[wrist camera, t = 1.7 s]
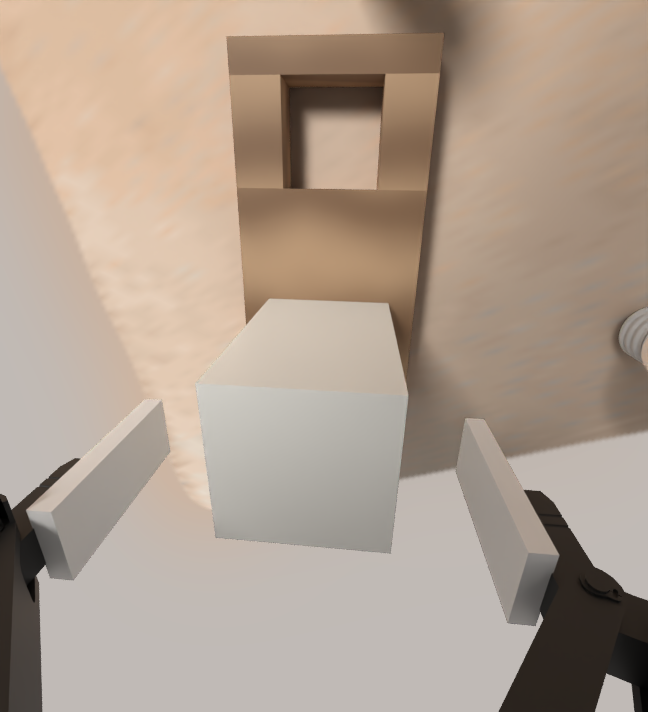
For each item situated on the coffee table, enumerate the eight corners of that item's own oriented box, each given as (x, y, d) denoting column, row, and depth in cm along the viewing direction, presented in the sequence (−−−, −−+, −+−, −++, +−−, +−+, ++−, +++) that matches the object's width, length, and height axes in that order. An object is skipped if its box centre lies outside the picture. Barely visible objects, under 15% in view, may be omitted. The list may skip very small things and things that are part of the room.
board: (241, 53, 20) (99, -106, 9) (434, 51, 20) (526, -126, 9) (260, 389, 28) (195, 515, 17) (399, 397, 28) (422, 534, 17)
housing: (269, 298, 23) (195, 383, 13) (388, 303, 22) (408, 395, 12) (273, 401, 26) (215, 537, 16) (379, 408, 25) (390, 553, 15)
